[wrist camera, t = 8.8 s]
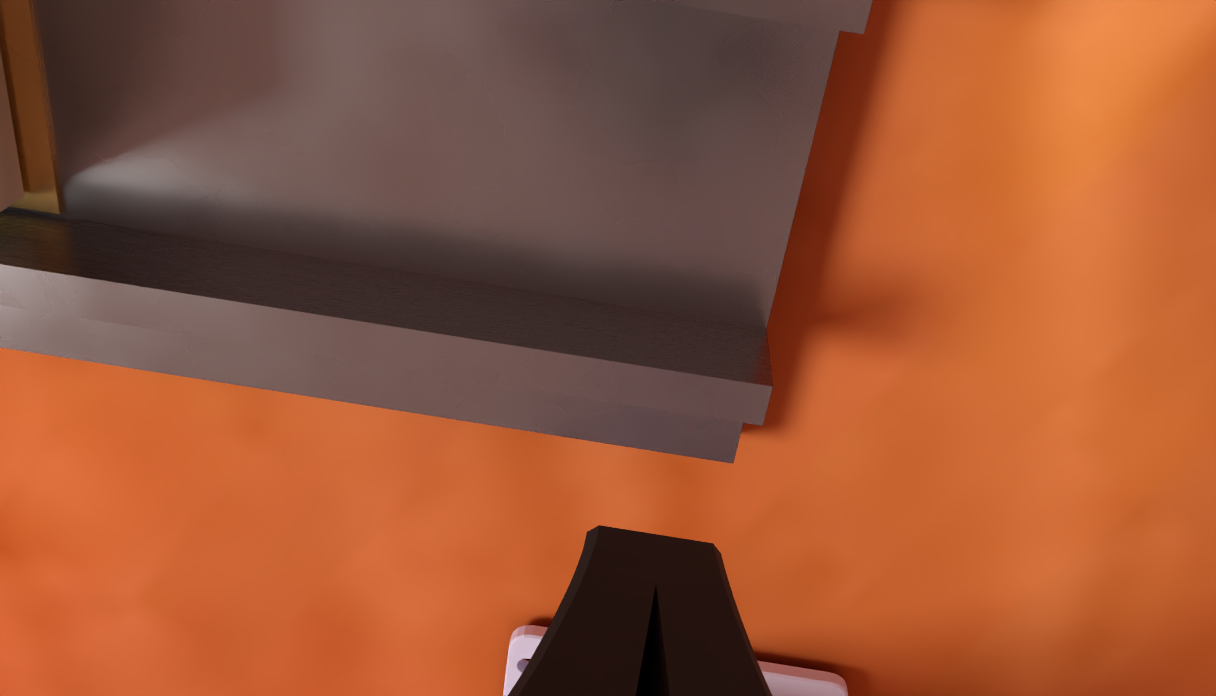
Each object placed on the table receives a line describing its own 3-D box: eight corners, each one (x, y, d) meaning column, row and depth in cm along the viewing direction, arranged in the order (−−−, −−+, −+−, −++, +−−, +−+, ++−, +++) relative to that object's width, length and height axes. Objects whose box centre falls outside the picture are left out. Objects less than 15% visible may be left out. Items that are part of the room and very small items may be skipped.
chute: (732, 434, 21) (735, 529, 19) (-226, 283, 21) (-355, 356, 19) (891, -226, 15) (930, -221, 13) (-451, -438, 15) (-687, -476, 13)
